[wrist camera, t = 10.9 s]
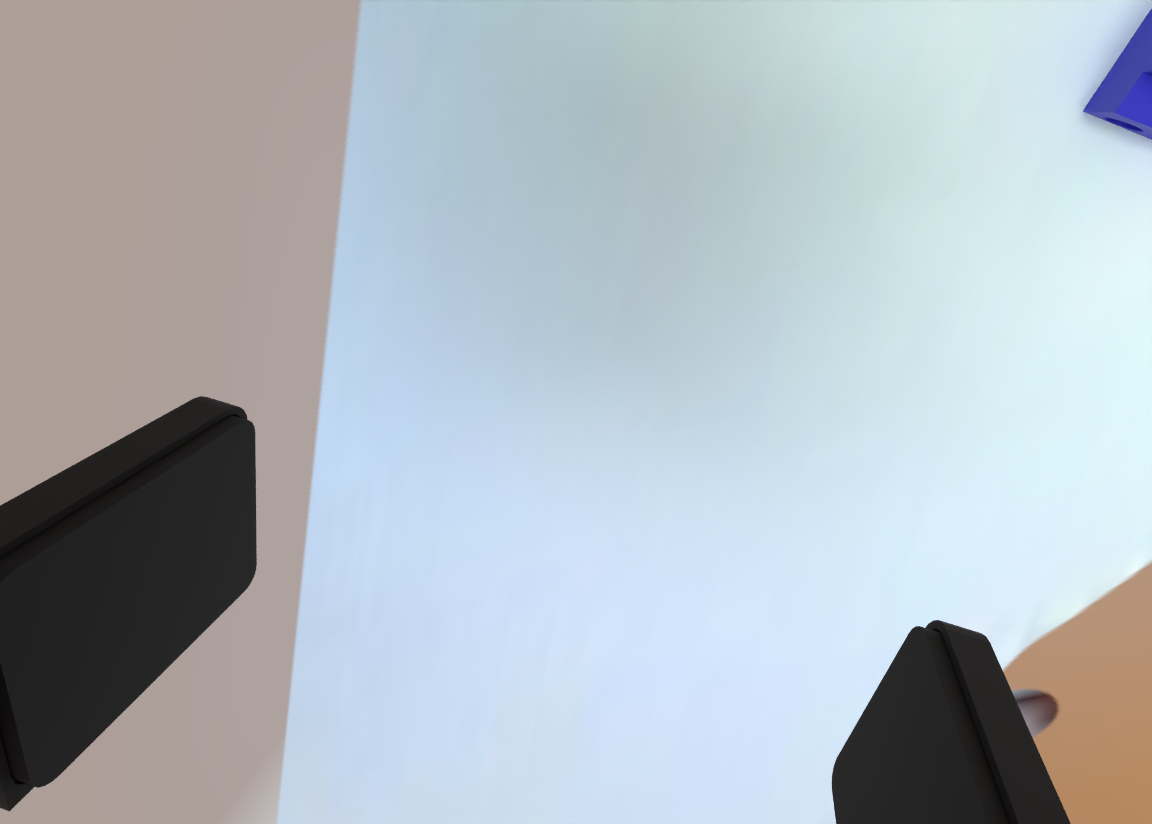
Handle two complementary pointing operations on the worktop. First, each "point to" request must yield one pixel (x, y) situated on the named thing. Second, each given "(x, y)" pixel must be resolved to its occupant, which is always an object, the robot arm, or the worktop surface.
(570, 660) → the worktop surface
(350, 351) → the worktop surface
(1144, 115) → the cable clip
